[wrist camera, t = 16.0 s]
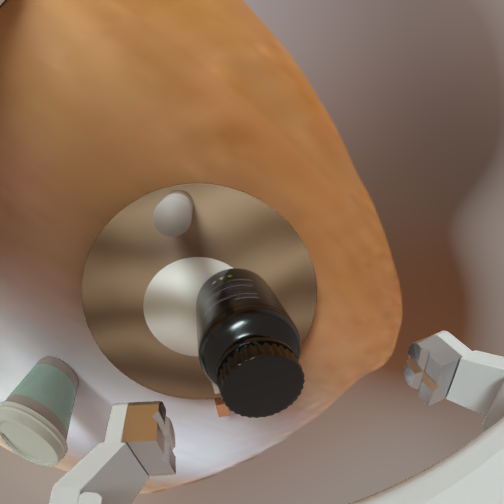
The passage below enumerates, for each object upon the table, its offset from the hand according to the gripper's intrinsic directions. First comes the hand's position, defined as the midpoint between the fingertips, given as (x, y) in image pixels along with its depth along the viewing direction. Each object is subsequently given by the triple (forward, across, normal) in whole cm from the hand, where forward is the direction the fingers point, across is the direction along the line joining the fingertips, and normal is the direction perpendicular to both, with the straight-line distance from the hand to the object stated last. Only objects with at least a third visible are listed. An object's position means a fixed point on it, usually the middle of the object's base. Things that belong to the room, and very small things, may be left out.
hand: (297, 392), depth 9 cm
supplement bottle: (+18, 0, +6) cm, 19 cm away
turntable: (+19, +4, +6) cm, 21 cm away
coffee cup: (+21, +24, +14) cm, 35 cm away
